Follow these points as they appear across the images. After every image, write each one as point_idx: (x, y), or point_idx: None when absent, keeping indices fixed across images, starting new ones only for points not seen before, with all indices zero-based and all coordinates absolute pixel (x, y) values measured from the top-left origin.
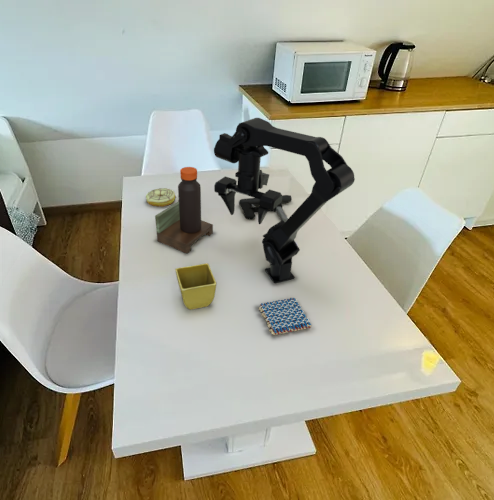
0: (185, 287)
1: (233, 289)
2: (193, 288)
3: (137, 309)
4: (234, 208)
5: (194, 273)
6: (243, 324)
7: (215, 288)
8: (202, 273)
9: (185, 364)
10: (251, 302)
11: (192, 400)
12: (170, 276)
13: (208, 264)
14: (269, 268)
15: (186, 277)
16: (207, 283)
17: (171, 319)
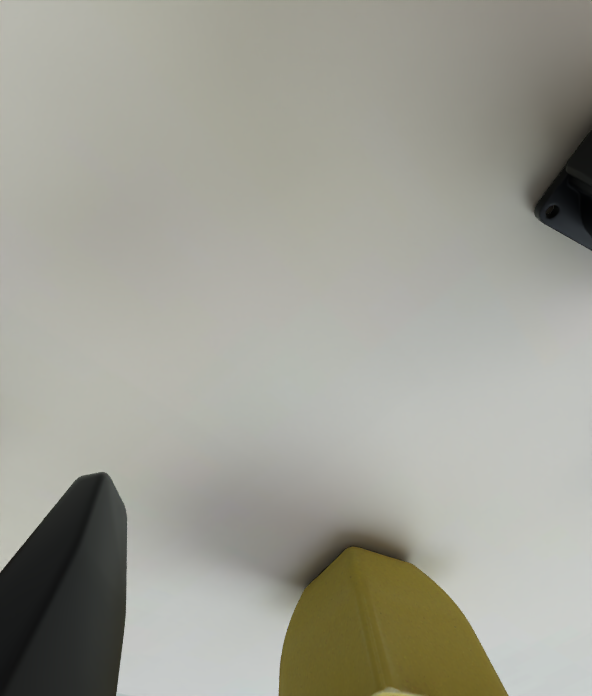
0: (298, 626)
1: (444, 446)
2: None
3: (221, 686)
4: (78, 555)
5: (330, 675)
6: (582, 528)
7: (499, 680)
8: (355, 644)
9: None
10: (565, 445)
11: (561, 690)
12: (135, 573)
13: (394, 693)
14: (566, 188)
15: (304, 677)
16: (377, 590)
17: None
